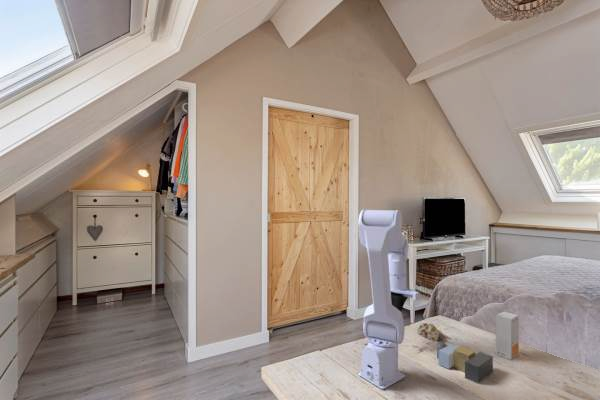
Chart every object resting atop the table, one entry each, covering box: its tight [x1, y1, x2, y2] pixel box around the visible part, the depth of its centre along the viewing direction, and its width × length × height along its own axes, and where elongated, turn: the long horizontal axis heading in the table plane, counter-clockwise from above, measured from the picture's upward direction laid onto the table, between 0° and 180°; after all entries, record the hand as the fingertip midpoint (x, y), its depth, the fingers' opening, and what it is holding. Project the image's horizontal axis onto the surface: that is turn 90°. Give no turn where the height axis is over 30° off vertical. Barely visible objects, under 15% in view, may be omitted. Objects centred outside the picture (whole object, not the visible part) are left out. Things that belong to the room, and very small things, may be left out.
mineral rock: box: [416, 322, 444, 342], centre depth 104 cm, size 11×4×8 cm
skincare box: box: [495, 311, 520, 360], centre depth 91 cm, size 6×4×12 cm
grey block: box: [464, 351, 494, 384], centre depth 80 cm, size 9×3×4 cm, turn 127°
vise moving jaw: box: [436, 341, 460, 370], centre depth 87 cm, size 8×6×4 cm
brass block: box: [452, 345, 476, 374], centre depth 83 cm, size 4×4×5 cm
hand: (396, 316), depth 96 cm, fingers closed
